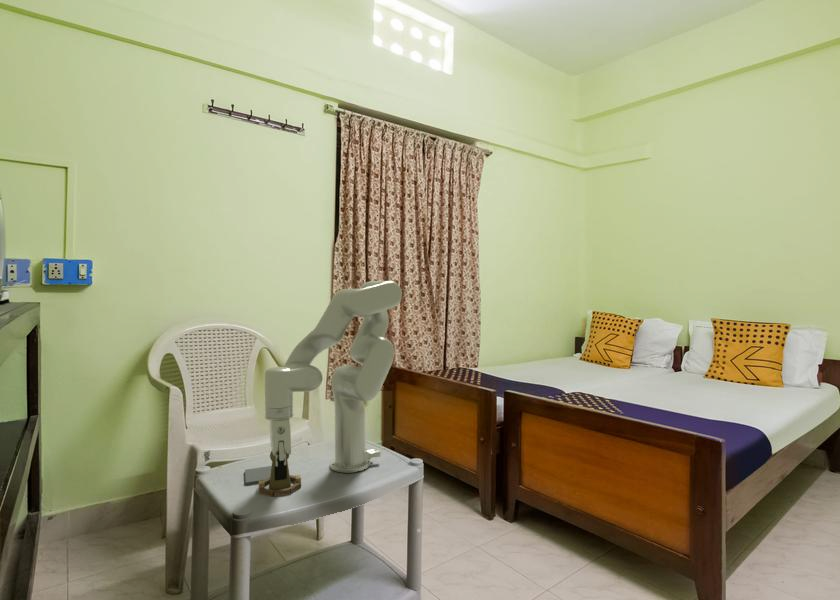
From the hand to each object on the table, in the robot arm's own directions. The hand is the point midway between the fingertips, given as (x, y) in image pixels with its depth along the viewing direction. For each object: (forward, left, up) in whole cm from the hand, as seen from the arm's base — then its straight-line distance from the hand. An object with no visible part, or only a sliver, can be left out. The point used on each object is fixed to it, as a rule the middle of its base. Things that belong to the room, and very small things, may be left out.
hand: (279, 475), depth 129 cm
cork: (0, 0, -3) cm, 3 cm away
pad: (+4, -10, -3) cm, 11 cm away
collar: (0, 0, -3) cm, 3 cm away
